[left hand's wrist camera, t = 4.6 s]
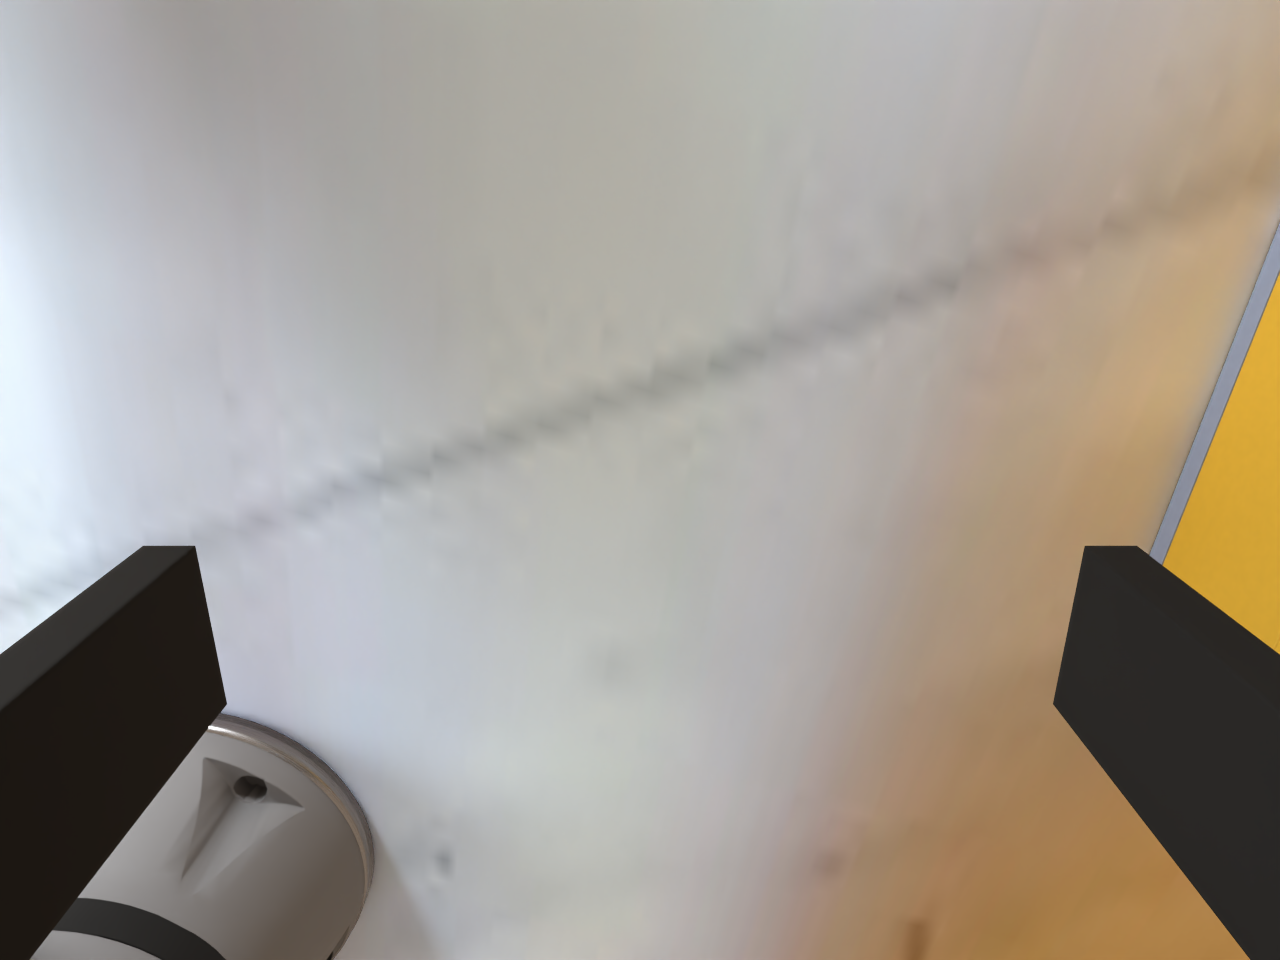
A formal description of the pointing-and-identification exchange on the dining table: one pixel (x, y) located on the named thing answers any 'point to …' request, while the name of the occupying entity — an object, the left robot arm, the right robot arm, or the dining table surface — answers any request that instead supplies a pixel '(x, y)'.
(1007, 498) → the dining table surface
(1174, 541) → the cabinet
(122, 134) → the dining table surface
